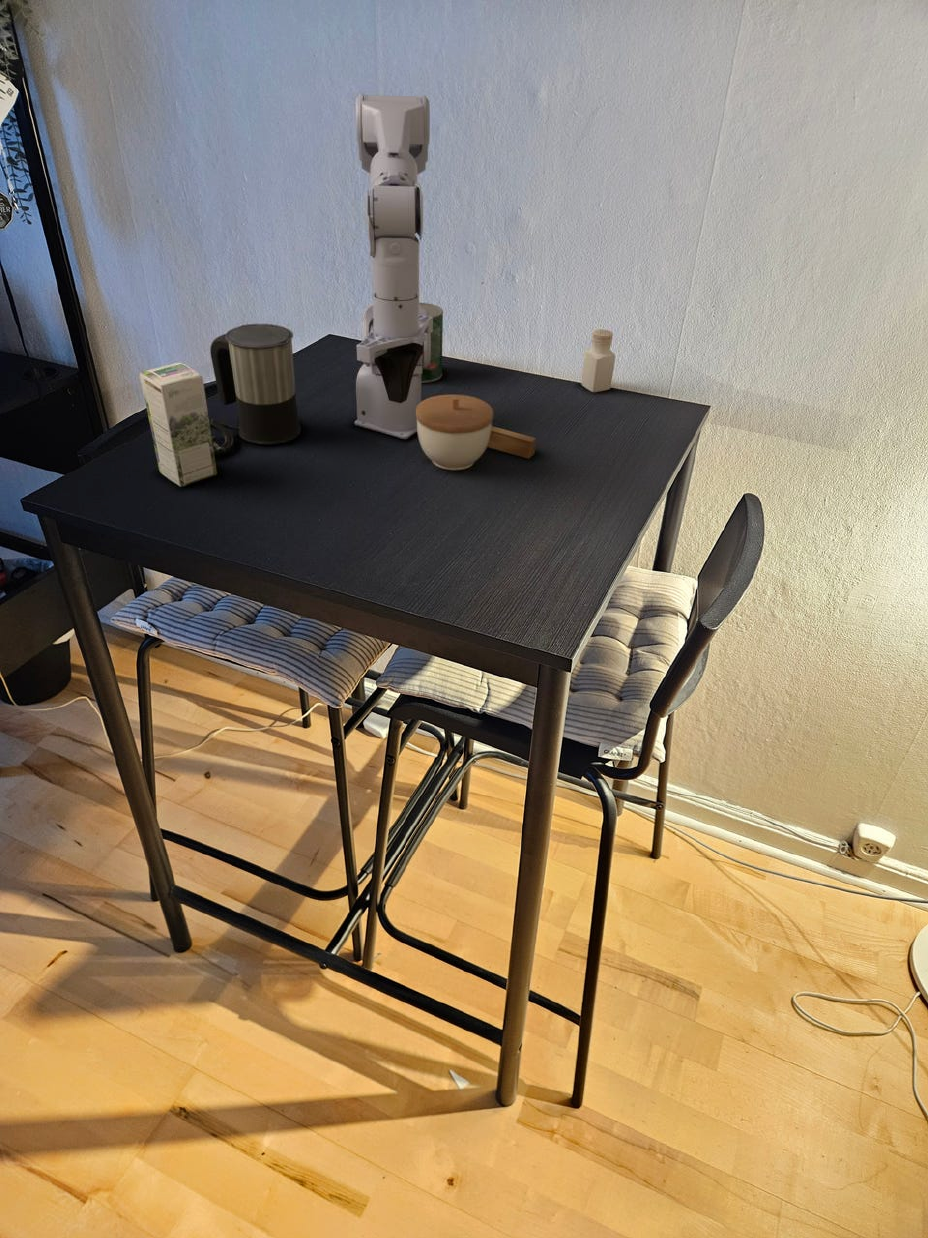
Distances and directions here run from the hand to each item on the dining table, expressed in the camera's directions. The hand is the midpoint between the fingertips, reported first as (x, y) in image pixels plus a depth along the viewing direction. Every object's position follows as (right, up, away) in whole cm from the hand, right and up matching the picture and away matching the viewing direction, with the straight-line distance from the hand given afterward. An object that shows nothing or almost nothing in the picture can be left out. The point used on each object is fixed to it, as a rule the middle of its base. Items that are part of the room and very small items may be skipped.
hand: (397, 400), depth 111 cm
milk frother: (-23, -3, +13) cm, 27 cm away
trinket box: (+7, -6, +10) cm, 14 cm away
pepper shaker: (+31, +10, +32) cm, 46 cm away
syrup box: (-29, -9, +4) cm, 31 cm away
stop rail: (+12, -3, +14) cm, 19 cm away
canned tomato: (+1, +13, +34) cm, 37 cm away
